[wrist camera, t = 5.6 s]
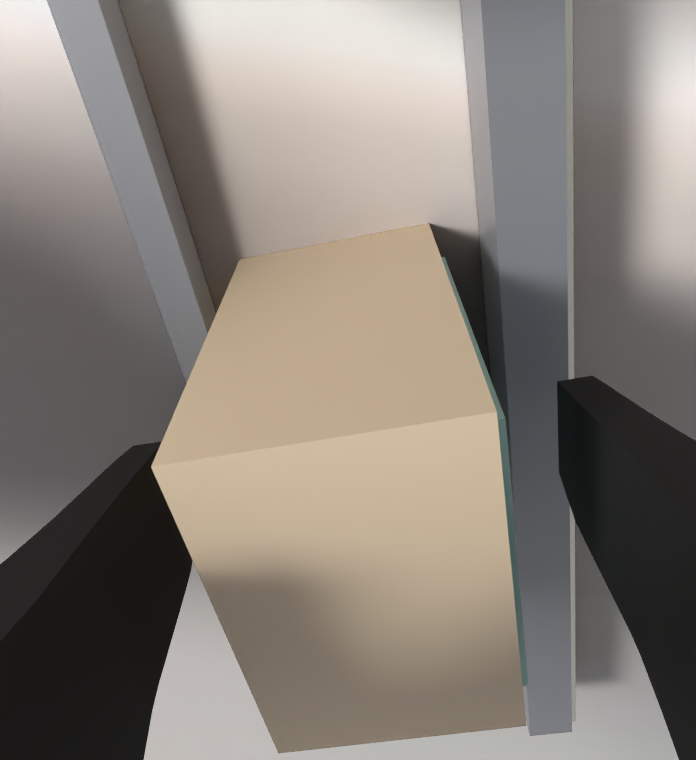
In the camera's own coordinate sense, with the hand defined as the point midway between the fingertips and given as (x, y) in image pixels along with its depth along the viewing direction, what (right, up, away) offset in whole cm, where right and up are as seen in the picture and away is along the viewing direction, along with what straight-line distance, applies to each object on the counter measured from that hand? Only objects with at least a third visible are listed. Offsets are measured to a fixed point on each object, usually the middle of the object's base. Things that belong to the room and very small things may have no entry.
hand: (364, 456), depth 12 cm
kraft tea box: (0, +2, +3) cm, 3 cm away
